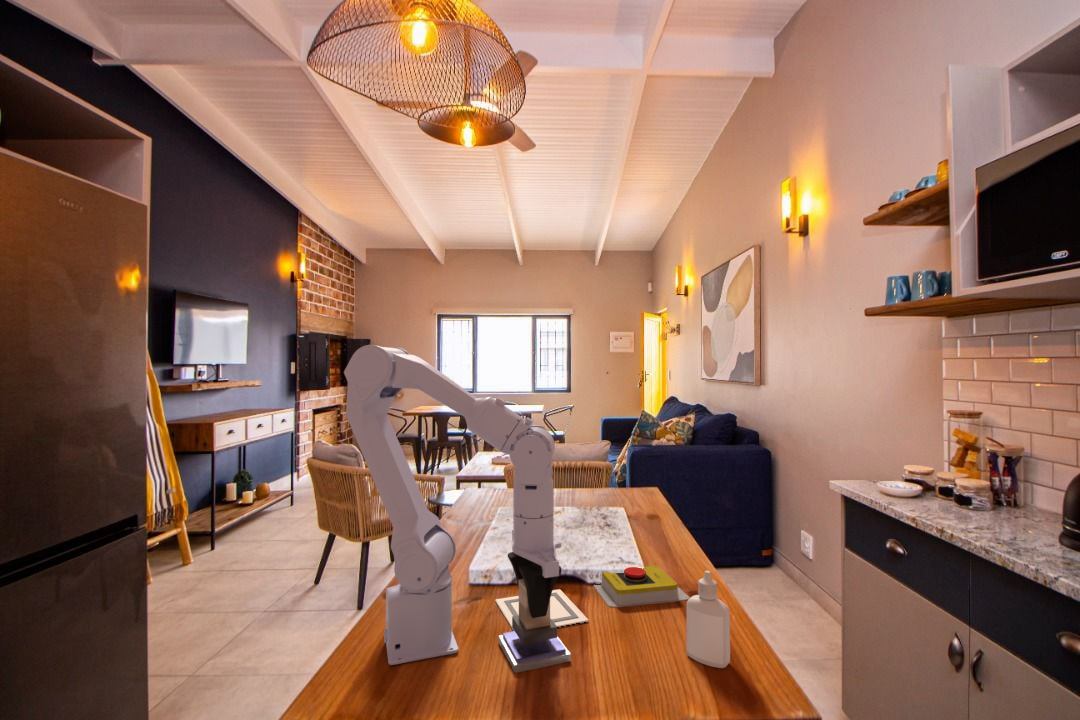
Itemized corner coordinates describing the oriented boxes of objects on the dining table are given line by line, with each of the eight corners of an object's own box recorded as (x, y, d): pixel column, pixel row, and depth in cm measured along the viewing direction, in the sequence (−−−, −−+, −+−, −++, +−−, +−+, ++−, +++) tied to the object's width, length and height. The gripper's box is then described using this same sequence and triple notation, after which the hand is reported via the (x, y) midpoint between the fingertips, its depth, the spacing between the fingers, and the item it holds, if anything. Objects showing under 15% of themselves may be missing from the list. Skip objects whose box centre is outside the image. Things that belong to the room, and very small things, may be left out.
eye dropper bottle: (709, 674, 67) (708, 582, 67) (682, 652, 72) (681, 566, 72) (735, 666, 69) (734, 577, 69) (706, 645, 74) (706, 562, 74)
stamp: (523, 644, 69) (522, 592, 69) (512, 626, 74) (512, 578, 74) (557, 637, 71) (557, 586, 71) (544, 621, 76) (544, 573, 76)
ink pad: (514, 673, 67) (514, 661, 67) (498, 642, 75) (498, 632, 75) (570, 661, 70) (570, 650, 70) (549, 632, 78) (549, 622, 78)
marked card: (516, 635, 77) (516, 632, 77) (495, 601, 88) (495, 598, 88) (588, 621, 81) (588, 619, 81) (559, 590, 92) (559, 588, 92)
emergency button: (592, 563, 95) (667, 557, 98) (592, 587, 95) (667, 580, 98) (609, 584, 86) (691, 577, 89) (609, 611, 86) (691, 602, 89)
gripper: (580, 524, 67) (580, 628, 67) (542, 498, 81) (542, 584, 81) (529, 530, 65) (529, 638, 65) (499, 502, 78) (499, 591, 78)
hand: (533, 609), depth 72 cm, fingers closed on stamp, 3 cm apart
